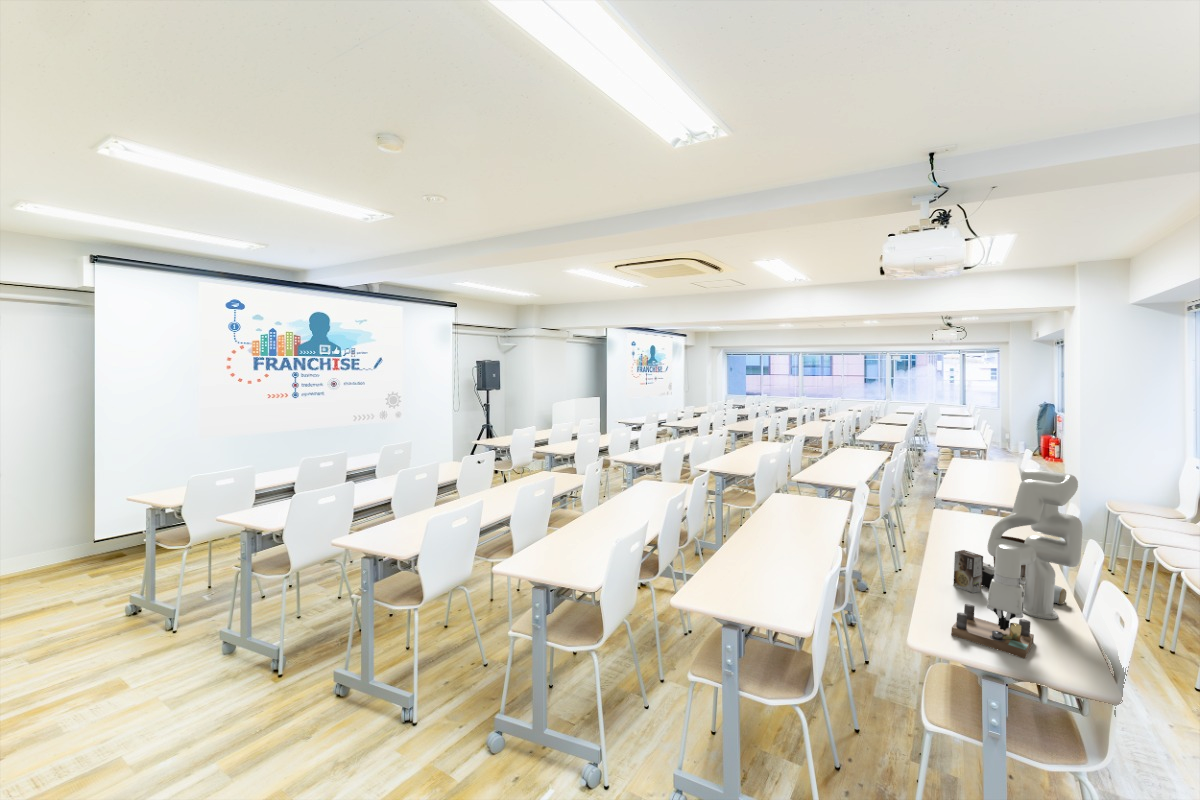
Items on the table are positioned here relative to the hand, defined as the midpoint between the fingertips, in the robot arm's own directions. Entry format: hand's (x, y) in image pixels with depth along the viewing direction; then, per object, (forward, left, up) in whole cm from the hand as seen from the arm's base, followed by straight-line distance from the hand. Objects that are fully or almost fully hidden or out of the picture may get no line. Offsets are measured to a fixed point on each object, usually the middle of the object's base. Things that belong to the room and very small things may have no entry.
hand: (1003, 628), depth 197 cm
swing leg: (+4, +1, -2) cm, 4 cm away
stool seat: (0, -3, -5) cm, 6 cm away
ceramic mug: (-59, +7, -5) cm, 60 cm away
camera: (-60, -17, -5) cm, 63 cm away
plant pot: (-84, -12, -5) cm, 85 cm away
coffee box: (-47, -21, -5) cm, 52 cm away
